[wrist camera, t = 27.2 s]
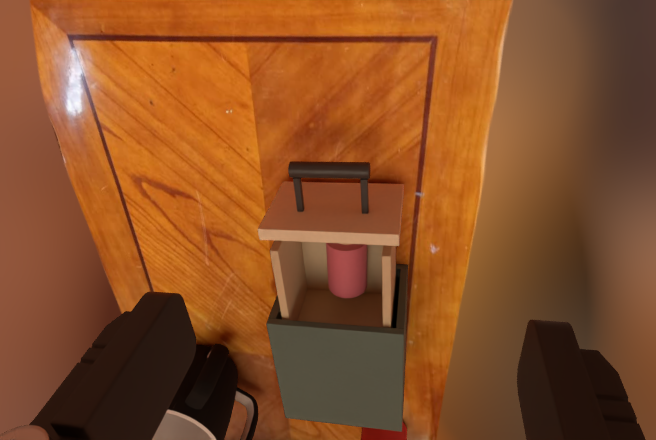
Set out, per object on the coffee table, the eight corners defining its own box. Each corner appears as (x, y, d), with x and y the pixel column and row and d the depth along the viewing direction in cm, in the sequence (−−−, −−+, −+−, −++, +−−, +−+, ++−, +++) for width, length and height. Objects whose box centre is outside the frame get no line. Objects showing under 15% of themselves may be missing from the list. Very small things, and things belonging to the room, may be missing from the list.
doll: (373, 279, 51) (374, 216, 46) (356, 303, 48) (355, 238, 43) (339, 268, 52) (337, 206, 48) (321, 291, 49) (316, 227, 45)
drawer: (276, 137, 45) (248, 180, 38) (404, 137, 43) (399, 183, 36) (298, 287, 56) (278, 342, 49) (401, 293, 54) (397, 353, 46)
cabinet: (291, 258, 55) (266, 323, 46) (407, 264, 52) (404, 334, 44) (304, 348, 63) (285, 418, 55) (405, 357, 61) (402, 432, 52)
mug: (141, 323, 67) (92, 394, 57) (245, 325, 63) (212, 402, 53) (178, 395, 75) (141, 468, 65) (272, 401, 71) (247, 479, 62)
